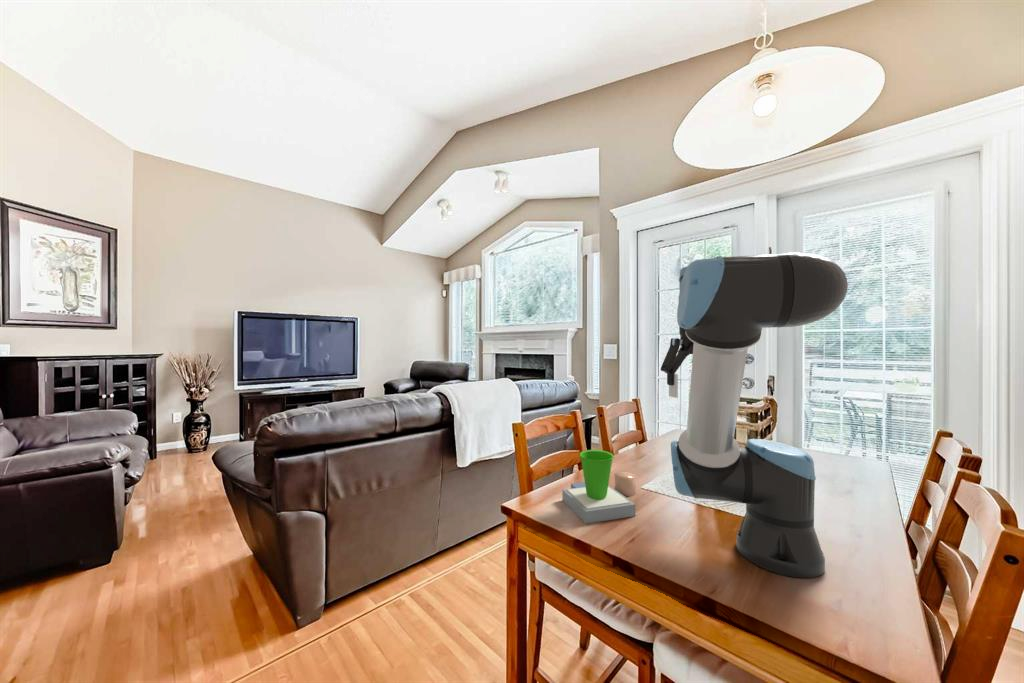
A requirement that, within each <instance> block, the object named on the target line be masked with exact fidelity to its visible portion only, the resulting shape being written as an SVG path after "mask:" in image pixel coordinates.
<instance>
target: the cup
mask: <svg viewBox="0 0 1024 683" xmlns="http://www.w3.org/2000/svg"><path fill="white" fill-rule="evenodd" d="M578 455H579V458H580V460H581V466H582V473H583V480H584V481H583V482H585V487H586V493H587V496H588V497H589V498H591V499H596V500H601V499H604V498H606V496H607V490H608V485H609V482H610V477H611V470H612V464H613V459H614V458H615V456H614V454H613V453H611V452H609V451H605V450H601V449H587V450H582V451H581V452H580V453H579V454H578Z"/></svg>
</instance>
